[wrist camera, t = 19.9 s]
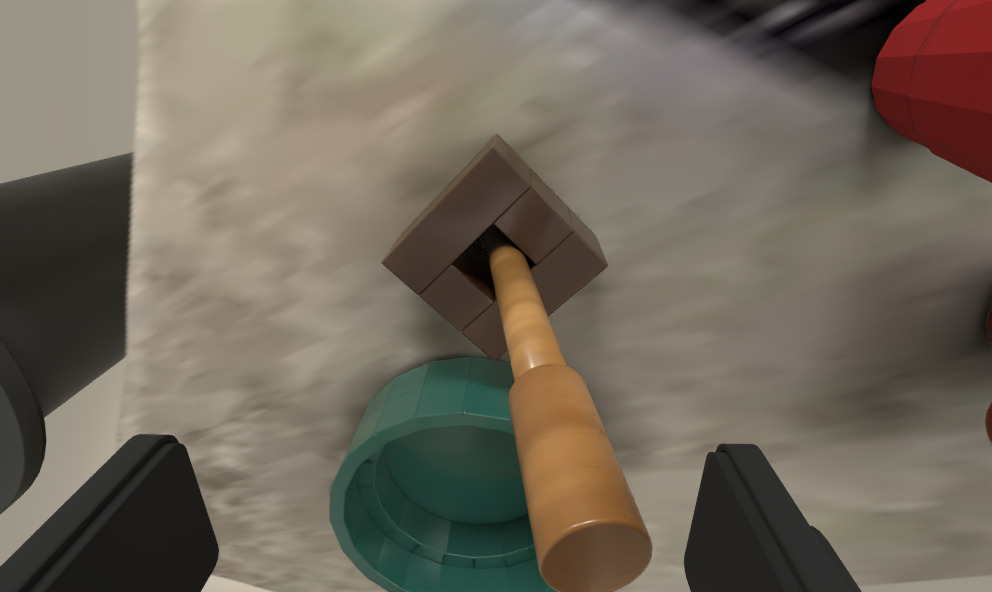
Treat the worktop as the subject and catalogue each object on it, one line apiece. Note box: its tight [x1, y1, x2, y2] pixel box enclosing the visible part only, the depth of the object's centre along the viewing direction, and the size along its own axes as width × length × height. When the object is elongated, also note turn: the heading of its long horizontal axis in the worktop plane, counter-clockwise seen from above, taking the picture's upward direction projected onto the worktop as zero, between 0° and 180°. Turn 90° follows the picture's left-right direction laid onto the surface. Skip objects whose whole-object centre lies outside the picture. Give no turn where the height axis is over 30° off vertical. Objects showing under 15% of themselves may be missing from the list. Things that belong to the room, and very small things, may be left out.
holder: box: [382, 134, 608, 361], centre depth 24 cm, size 7×7×4 cm
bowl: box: [329, 357, 558, 592], centre depth 29 cm, size 15×15×6 cm
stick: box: [485, 224, 652, 592], centre depth 18 cm, size 2×2×18 cm
